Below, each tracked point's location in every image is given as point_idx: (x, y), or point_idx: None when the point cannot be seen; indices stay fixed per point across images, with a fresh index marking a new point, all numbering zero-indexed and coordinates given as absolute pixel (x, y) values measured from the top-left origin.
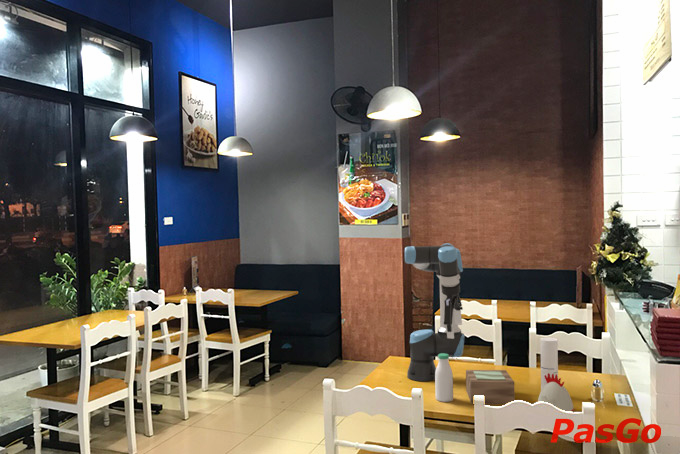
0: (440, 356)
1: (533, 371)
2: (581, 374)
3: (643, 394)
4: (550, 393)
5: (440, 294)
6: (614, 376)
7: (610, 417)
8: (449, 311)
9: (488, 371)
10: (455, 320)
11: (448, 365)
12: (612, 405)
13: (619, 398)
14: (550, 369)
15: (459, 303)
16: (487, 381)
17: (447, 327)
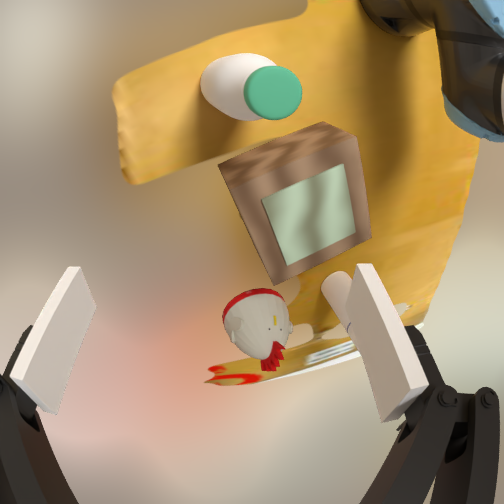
0: (247, 84)
1: (448, 225)
2: (429, 286)
3: (353, 357)
4: (242, 342)
5: None
6: (418, 316)
7: (252, 364)
8: None
9: (348, 206)
10: (368, 296)
11: (253, 113)
12: (303, 353)
13: (334, 349)
14: (346, 329)
15: (442, 465)
16: (254, 230)
17: (12, 361)
